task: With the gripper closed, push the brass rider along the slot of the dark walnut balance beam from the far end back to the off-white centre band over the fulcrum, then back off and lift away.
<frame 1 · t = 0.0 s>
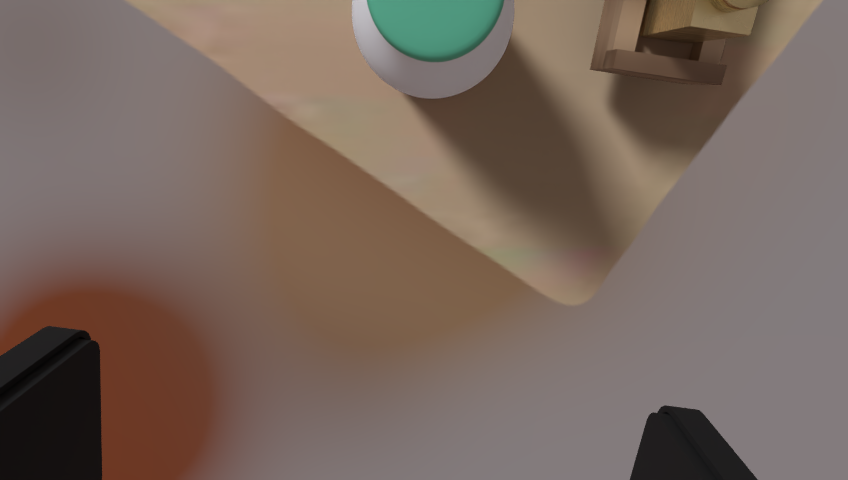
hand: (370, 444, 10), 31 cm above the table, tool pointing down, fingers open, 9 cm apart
milk bottle: (431, 34, 37), on the table
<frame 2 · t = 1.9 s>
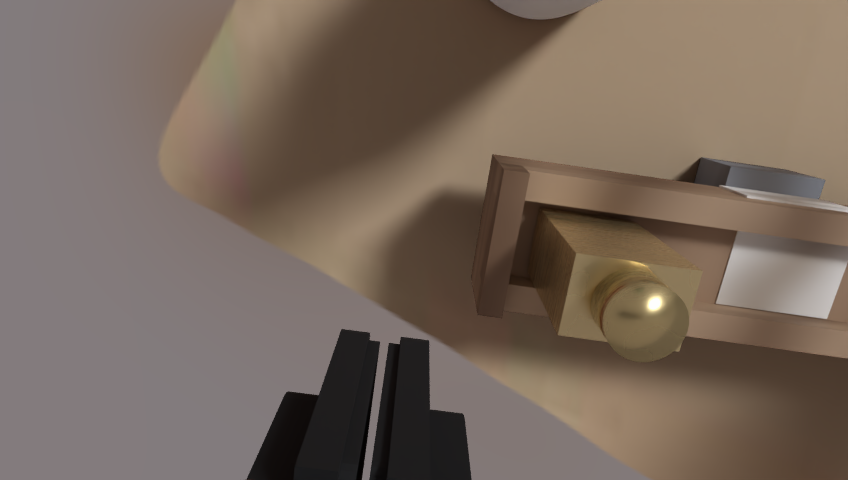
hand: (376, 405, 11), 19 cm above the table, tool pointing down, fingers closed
rider: (606, 278, 20), point 10 cm above the table, slide at 9.0 cm
beam: (721, 238, 30), on the table
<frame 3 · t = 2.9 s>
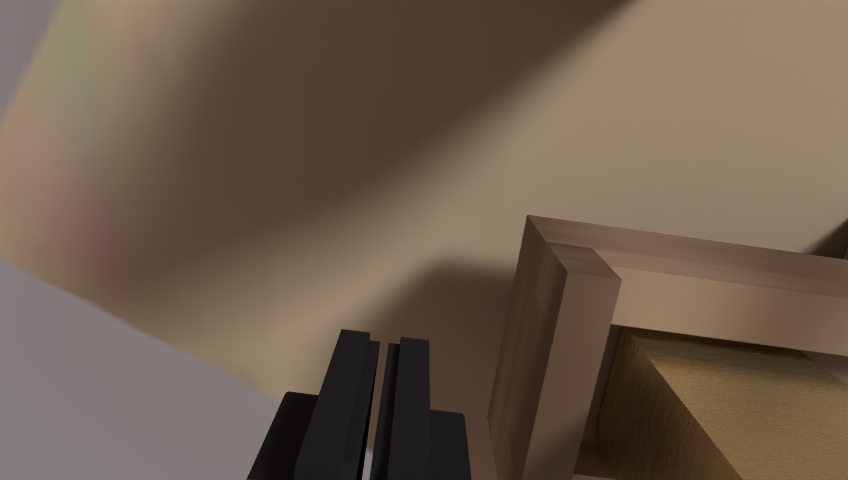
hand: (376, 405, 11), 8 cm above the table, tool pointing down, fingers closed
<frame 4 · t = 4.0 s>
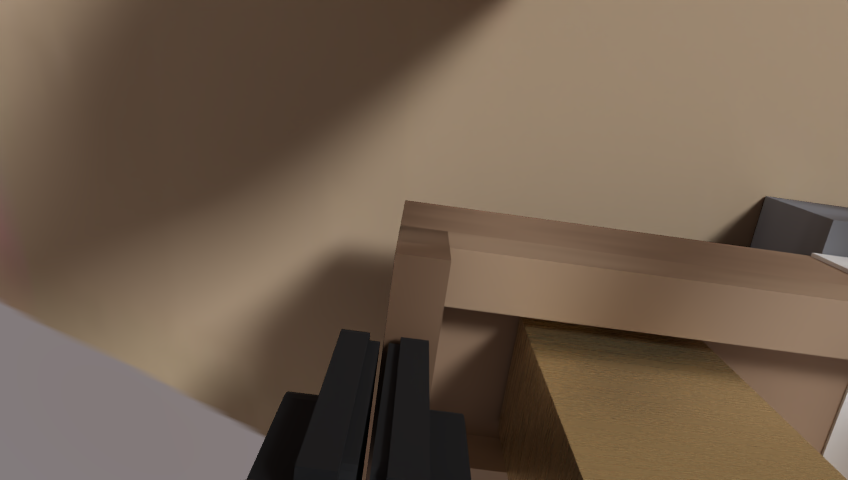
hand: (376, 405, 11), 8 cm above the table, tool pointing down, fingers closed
beam: (794, 325, 18), on the table
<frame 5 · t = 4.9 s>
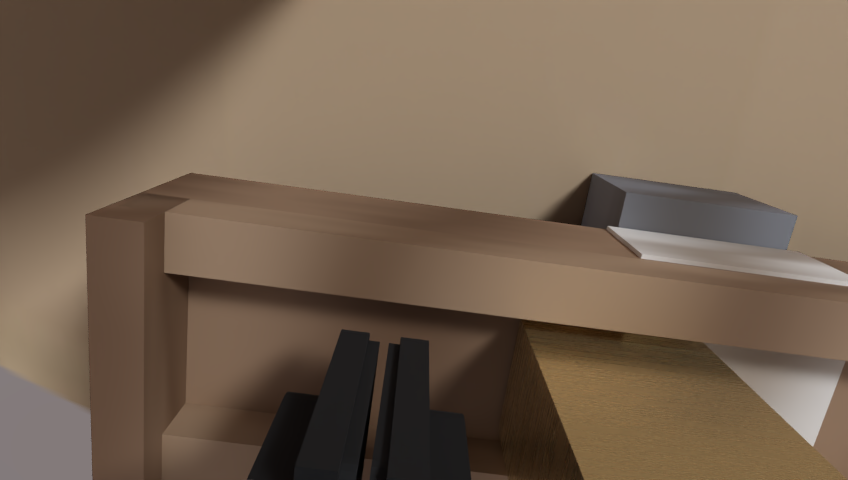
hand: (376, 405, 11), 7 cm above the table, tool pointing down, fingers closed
beam: (632, 305, 18), on the table
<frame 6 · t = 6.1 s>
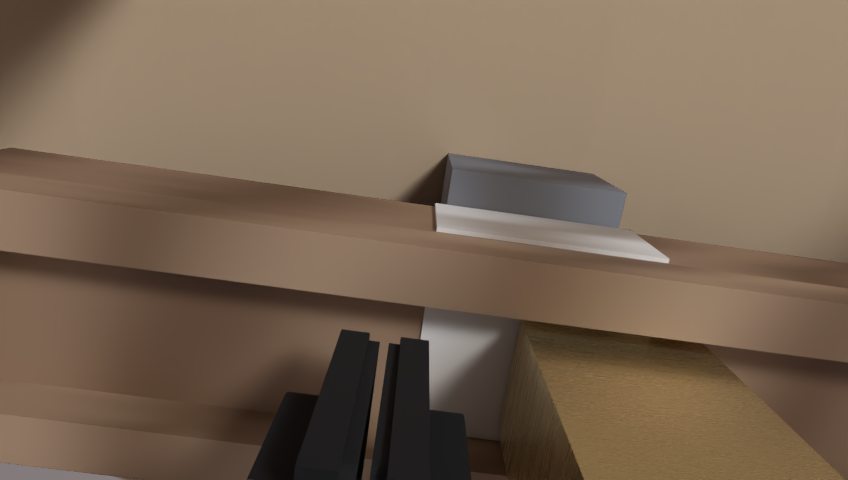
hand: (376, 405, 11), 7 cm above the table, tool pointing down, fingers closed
beam: (497, 287, 18), on the table
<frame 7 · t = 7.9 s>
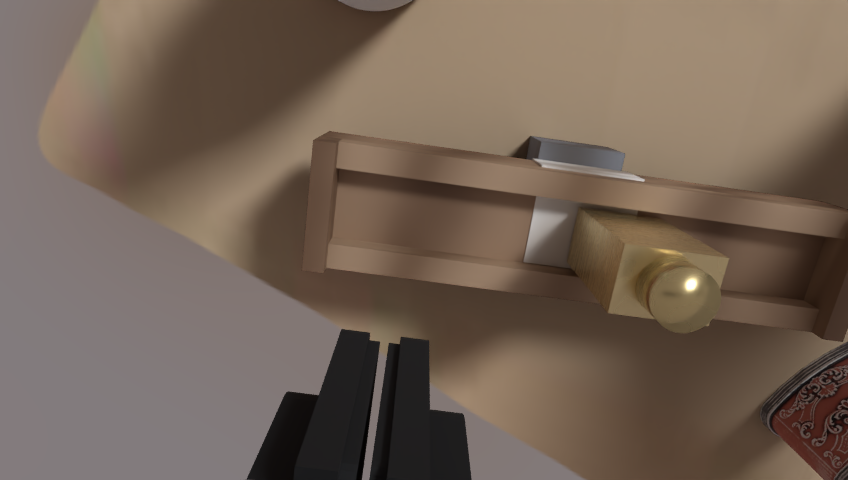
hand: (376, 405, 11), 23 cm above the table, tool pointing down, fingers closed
rider: (643, 266, 24), point 10 cm above the table, slide at -1.6 cm
lighter: (814, 384, 37), on the table
beam: (554, 210, 33), on the table
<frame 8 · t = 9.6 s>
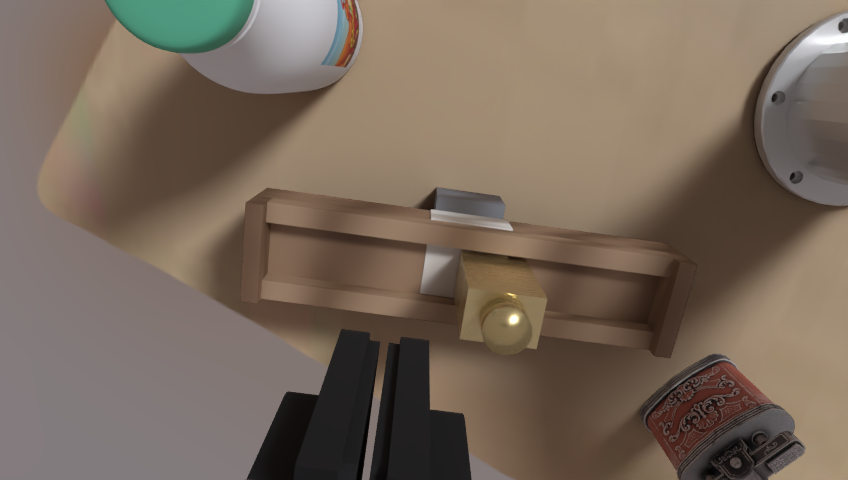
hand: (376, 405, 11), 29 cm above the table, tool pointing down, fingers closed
rider: (497, 301, 31), point 10 cm above the table, slide at -1.6 cm
lighter: (684, 390, 44), on the table
beam: (459, 246, 40), on the table
milk bottle: (304, 28, 36), on the table
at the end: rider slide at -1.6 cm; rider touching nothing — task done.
